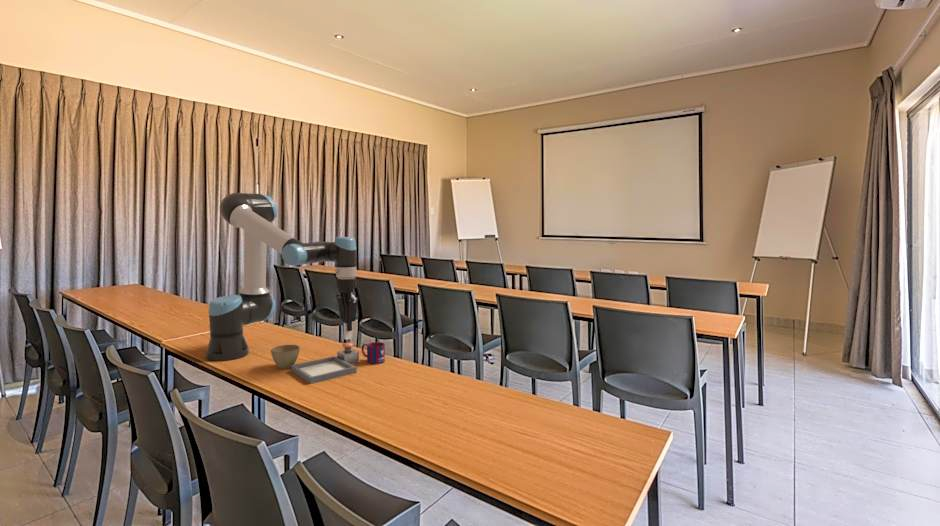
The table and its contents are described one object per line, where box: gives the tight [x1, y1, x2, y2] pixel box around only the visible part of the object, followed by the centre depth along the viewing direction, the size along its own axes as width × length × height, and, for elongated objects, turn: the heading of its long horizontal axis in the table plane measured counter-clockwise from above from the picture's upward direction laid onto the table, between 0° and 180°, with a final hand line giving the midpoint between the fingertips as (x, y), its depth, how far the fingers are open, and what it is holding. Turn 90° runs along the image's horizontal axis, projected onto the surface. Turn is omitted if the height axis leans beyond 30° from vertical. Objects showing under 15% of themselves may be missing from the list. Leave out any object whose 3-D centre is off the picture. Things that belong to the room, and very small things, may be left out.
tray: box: [290, 355, 358, 385], centre depth 167 cm, size 17×17×2 cm
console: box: [336, 348, 360, 365], centre depth 178 cm, size 6×6×4 cm
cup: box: [361, 341, 386, 365], centre depth 180 cm, size 7×10×7 cm
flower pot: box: [270, 344, 300, 370], centre depth 172 cm, size 10×10×7 cm
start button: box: [341, 342, 354, 353], centre depth 178 cm, size 4×4×3 cm
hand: (348, 338), depth 177 cm, fingers closed
